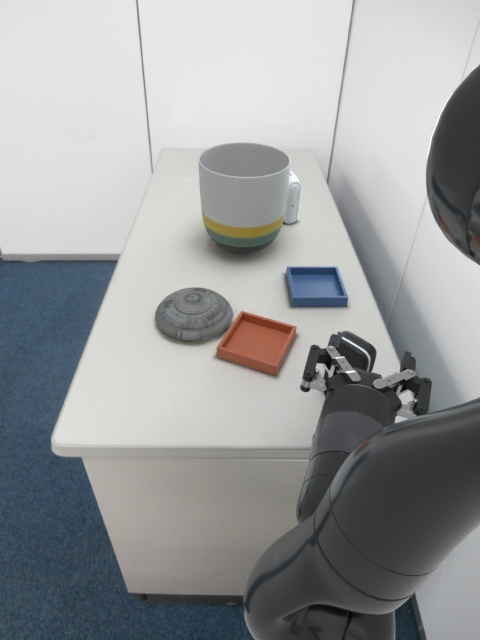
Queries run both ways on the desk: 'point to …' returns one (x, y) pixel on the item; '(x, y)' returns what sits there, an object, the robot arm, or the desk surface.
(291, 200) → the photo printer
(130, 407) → the desk surface
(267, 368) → the terracotta tray
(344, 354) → the battery charger
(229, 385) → the desk surface
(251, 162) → the planter
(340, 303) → the blue tray
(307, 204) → the desk surface
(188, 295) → the flying saucer
